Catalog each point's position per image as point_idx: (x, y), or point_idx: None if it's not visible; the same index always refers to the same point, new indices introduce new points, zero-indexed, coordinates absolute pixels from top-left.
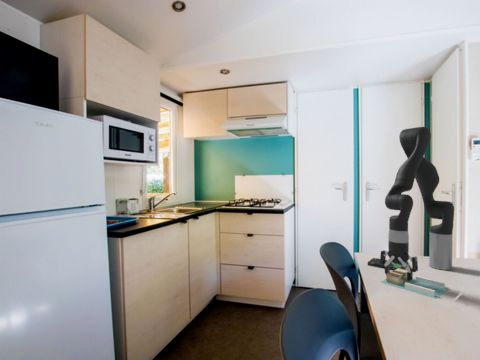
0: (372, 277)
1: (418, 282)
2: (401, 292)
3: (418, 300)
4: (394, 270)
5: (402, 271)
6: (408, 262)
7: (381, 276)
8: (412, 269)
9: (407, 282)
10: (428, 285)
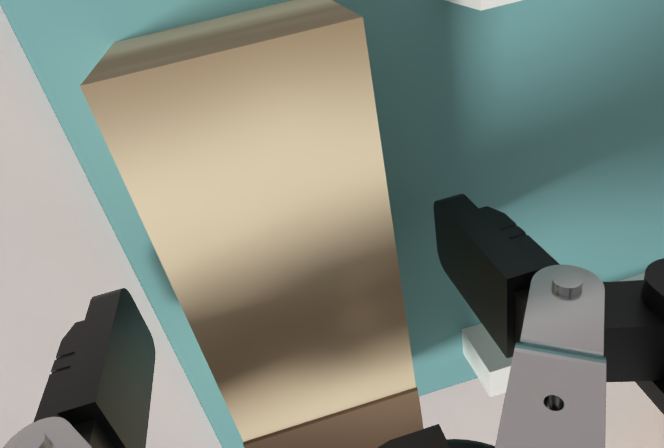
0: (21, 414)
1: (491, 26)
2: (473, 412)
3: (615, 402)
4: (194, 310)
5: (310, 218)
6: (605, 417)
7: (8, 287)
8: (649, 395)
9: (396, 189)
10: (630, 7)
